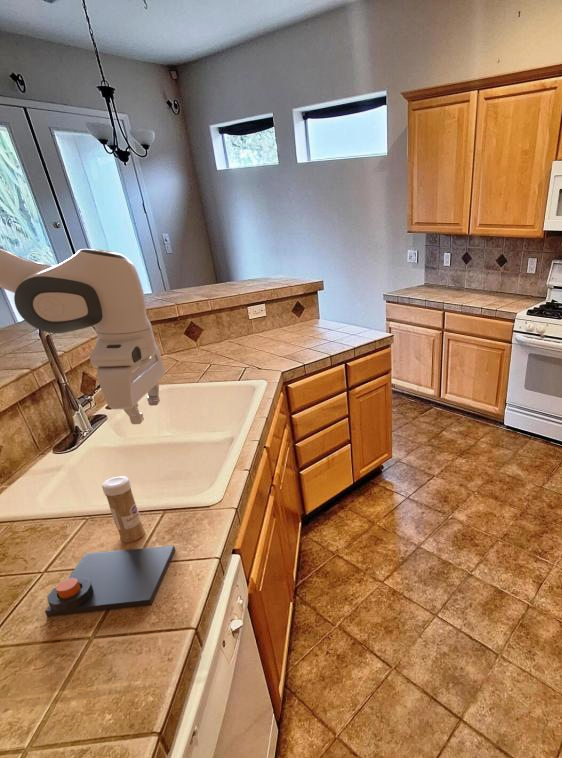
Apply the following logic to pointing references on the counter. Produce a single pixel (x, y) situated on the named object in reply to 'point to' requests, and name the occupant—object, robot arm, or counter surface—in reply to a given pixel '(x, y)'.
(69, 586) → the button
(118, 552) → the scale
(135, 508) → the sprinkles bottle
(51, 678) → the counter surface
